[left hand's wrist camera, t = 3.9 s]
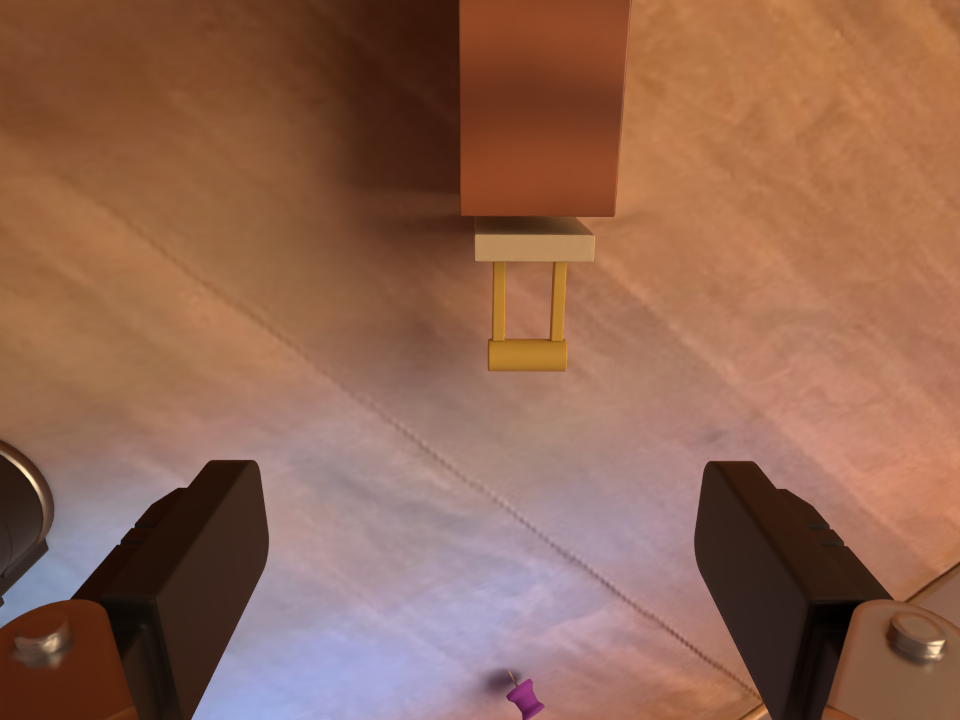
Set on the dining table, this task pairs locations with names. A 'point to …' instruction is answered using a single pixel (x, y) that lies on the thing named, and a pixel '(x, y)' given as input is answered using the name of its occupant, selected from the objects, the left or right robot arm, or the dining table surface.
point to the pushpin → (525, 698)
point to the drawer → (530, 244)
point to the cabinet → (541, 106)
